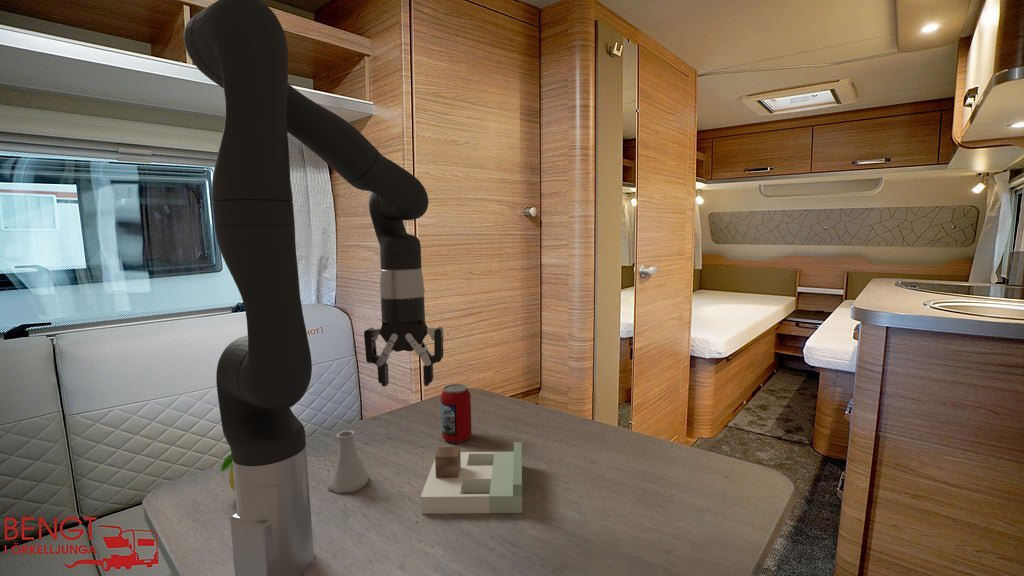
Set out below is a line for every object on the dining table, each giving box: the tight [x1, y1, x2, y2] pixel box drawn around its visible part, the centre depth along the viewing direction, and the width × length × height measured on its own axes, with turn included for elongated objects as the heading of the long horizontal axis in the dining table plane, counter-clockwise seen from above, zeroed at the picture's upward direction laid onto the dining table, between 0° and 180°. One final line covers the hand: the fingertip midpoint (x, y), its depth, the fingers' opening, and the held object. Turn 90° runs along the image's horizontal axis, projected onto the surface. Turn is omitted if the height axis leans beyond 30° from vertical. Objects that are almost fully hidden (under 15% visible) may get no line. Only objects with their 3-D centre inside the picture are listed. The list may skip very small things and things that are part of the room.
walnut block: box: [434, 446, 461, 478], centre depth 89 cm, size 4×4×4 cm
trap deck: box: [420, 441, 523, 515], centre depth 89 cm, size 17×16×5 cm
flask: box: [327, 430, 370, 494], centre depth 91 cm, size 7×7×10 cm
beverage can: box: [440, 383, 472, 444], centre depth 110 cm, size 7×7×12 cm
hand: (406, 384), depth 87 cm, fingers open, 7 cm apart
